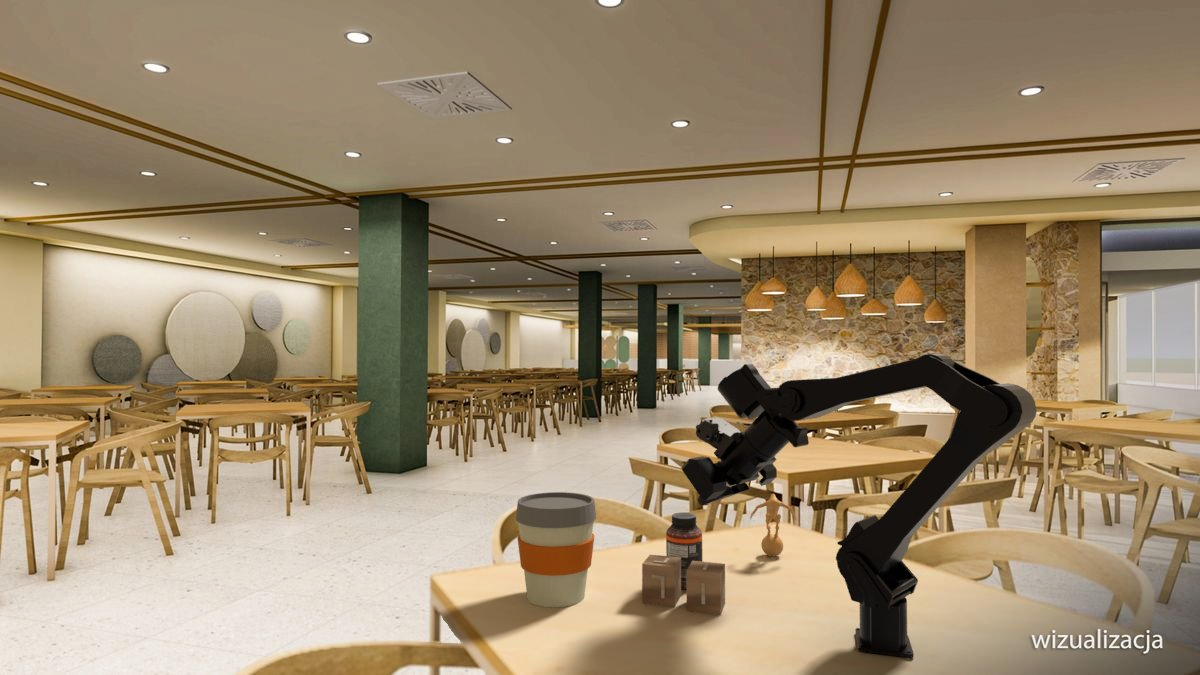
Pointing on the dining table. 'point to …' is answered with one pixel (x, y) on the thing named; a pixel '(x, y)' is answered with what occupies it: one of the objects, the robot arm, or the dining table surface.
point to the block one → (705, 587)
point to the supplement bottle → (684, 542)
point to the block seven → (661, 580)
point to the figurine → (772, 542)
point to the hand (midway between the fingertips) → (700, 502)
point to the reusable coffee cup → (555, 546)
